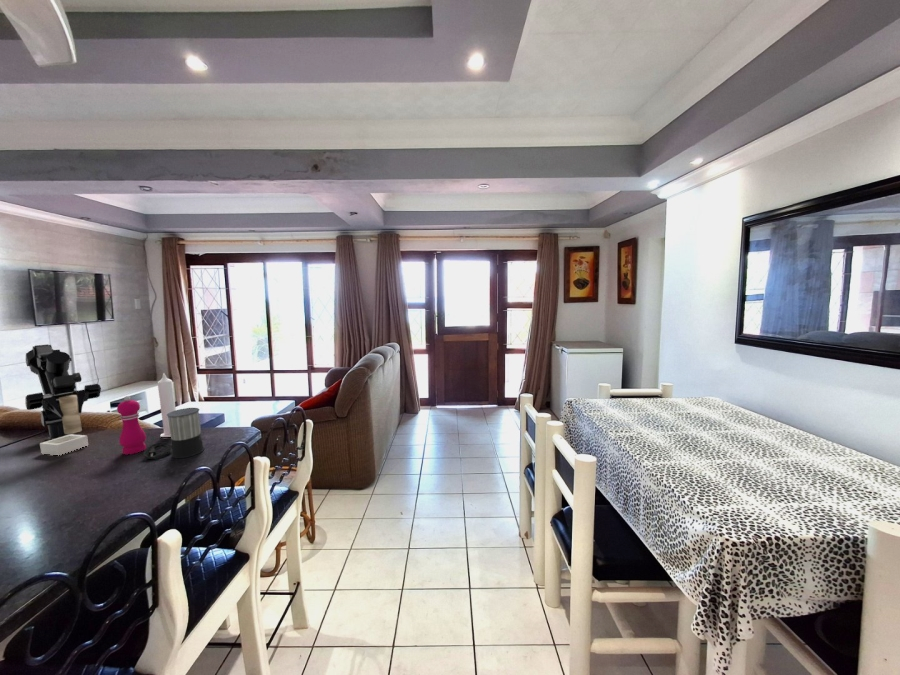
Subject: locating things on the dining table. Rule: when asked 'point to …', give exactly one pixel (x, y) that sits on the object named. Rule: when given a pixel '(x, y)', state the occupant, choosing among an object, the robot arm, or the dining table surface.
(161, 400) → the candle
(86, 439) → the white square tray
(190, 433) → the milk frother
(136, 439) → the pepper mill
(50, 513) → the dining table surface
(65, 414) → the birch peg
